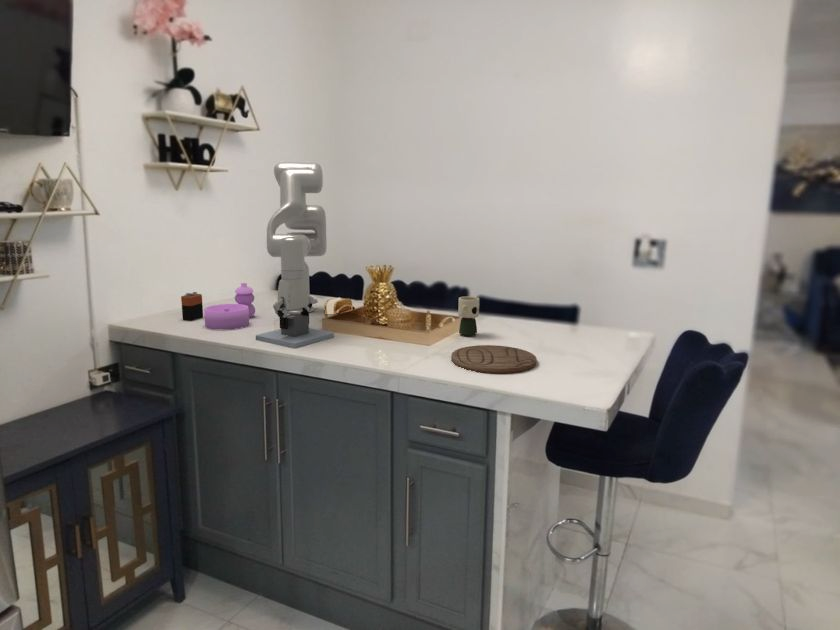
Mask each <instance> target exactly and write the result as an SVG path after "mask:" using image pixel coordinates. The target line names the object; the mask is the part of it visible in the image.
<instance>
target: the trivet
mask: <svg viewBox="0 0 840 630" xmlns="http://www.w3.org/2000/svg"><path fill="white" fill-rule="evenodd" d="M450 358H451V363H452V362H453V363H454V364H455V365H454V364H453V363H452V364H453V365H454V366H455V367H458V368H459V367H461V368H460V369H462V368H464V369H463V370H465V369H466V371H469V370H471V371H470V372H473V371H475V372H474V373H479V372H480V374H488V375H489V374H490V375H513V374H520V373H524V372H528V371H531V370H533V369H535V368H536V366H537V363H538V362H537V360H538V359H537V356H536V355H535V354H533V352H529V351H528V350H525V349H521V348H517V347H511V346H505V345H496V344H495V345H494V344H492V345H491V344H487V345H486V344H485V345H484V344H481V345H477V344H476V345H470V346H464V347H461V348H458V349H455V350H453V352H452V353H451V357H450Z"/></svg>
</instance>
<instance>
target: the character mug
mask: <svg viewBox="0 0 840 630" xmlns="http://www.w3.org/2000/svg"><path fill="white" fill-rule="evenodd" d="M457 311H458V312H457V314H458V317H461V319H460V322H459V323H460V324H459V329H458V334H460V335H464V336H465V337H467V336H468V337H469V336H476V335H477V334H478V328H477V320H476V318H478V317H479V315H480V298H479V297H476V296H468V295H467V296H460V297H458V310H457Z"/></svg>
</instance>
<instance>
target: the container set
mask: <svg viewBox="0 0 840 630" xmlns="http://www.w3.org/2000/svg"><path fill="white" fill-rule="evenodd" d="M234 293H235V296H234V301H235V303H221V304H214V305H209V306H206V307H204V309H203V316H204V325H205V326H204V327H205V328H206V327H207V328H206V329H210V330H214V329H230V330H236V329H235V328H238V329H241V327H243V328H246V327H248V326H249V325H250V319H251V318H253V317H254V315H255V314H256V308H255V307H256V306H255V305H254V304H252V303H253V302H254V300H255V295H254V294H253V293H254V289H253V288H252V287H250V286H248V283H246V282H242V283H240V286H239V287H237V288H235V291H234ZM250 317H251V318H250ZM245 326H246V327H245Z"/></svg>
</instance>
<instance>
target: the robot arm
mask: <svg viewBox="0 0 840 630" xmlns="http://www.w3.org/2000/svg"><path fill="white" fill-rule="evenodd" d="M273 174H274V178H275V180H276V183H277V184H278V186H279V187H280V188H279V192H280V193H279V194H280V195H279V196H280V197H279V200H280V201H279V203H280V204H279V205H280V206H279V208H278V209H277V210H276V211H275V212H274V213H273V214H272V216H271V218H270V219H269V220H268V224H267V227H266V250H267V253H268V255H269V256H271V257H274V258H280V268H281V269H280V270H281V271H280V272H281V274H280V275H281V279H280V280H279V281H278V288H277V301H276V302H275V303H273V305H272V308H273V309H274V312H275V314H276V315H277V317H278V318H279V328H280V329H288V317H286V316H287V315H290V314H300V315H306V316H308V318H309V319H310V313H313V312H314V311H315V308H314V307H313V305H315V304H318V302H319V300H318V299H317V298H314V297H313V296H311V295H310V268H309V265H308V264H307V262H306V261H305V257H306V258H307V257H323V256H324V255H326V252H327V216H326V211H325V209H324V207H323V206H320V205H317V204H313V205H312V204H307V203H306V202H307V201H306V200H307V198H306V197H307V195H306V194H319V193H321V192H322V189H323V187H324V185H323V184H324V177H323V175H324V174H323V169H322V166H321V165H320V164H319V163H316V162H315V163H314V162H279V163H277V164H275V165H274V168H273ZM283 224H284V225H285V227H286V228H287V229H289V230H294V231H295V230H296V231H295V232H287V233H285V234H284V233H283V234H282V233H281V234H278V233H277V234H276V232H277V229H278V228H279V227H280V226H281V225H283ZM298 230H299V231H298ZM300 230H301V231H300ZM302 230H303V232H302ZM306 231H310V232H306ZM312 231H313V232H312Z"/></svg>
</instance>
